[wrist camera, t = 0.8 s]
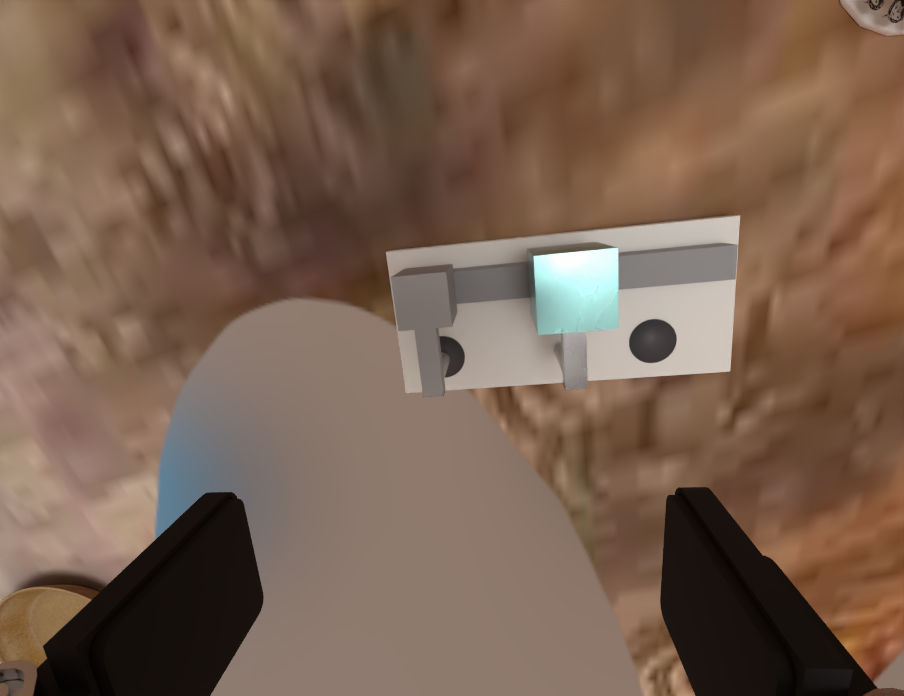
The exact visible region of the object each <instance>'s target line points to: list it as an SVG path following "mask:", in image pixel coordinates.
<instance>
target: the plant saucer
mask: <svg viewBox="0 0 904 696" xmlns="http://www.w3.org/2000/svg"><path fill="white" fill-rule="evenodd" d="M99 593H100V592H99V591H96V590H94V589H91V588H87V587H83V586H76V585H44V586H36V587H31V588H26V589H22V590H19V591H16V592H14V593H12V594H10V595H8V596H7V597H5V598H4V599H3V600H2V601H1V602H0V662H1V663H4V662H8V661H14V660H26V661H31V662H32V663H33V664H34V665H35V666H36V667H37V668H38V667H39V666H40V665H41V664H42V663H43V662H44V661H45V660H46V659H47V657H46V654H45V651H44V649H43V645H44V644H45V643H47V642H48V641H49V640H50V639H51V638H52V637H53V636H54V635H55V634H56V633H57V632H58V631H59V630H60V629H61V628H62V627H64V626H65V625H66V624H67V623H68V622H69V621H70V620H71V619H72V618H73V617H74V616H75V615H76V614H77V613H78V612H79V611H80V610H82V609H83V608H84V607H85V606H86V605H87V604H88V603H89V602H90V601H91V600H92V599H93V598H94V597H95V596H96V595H97V594H99Z"/></svg>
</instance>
